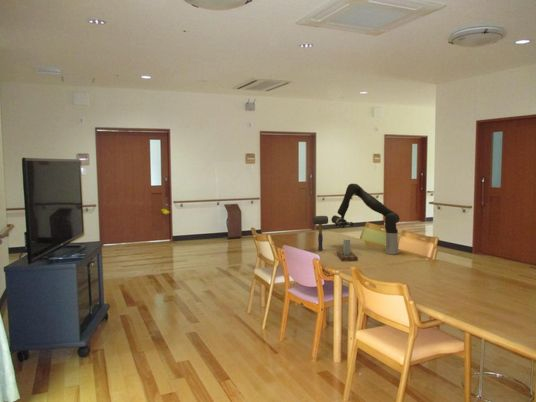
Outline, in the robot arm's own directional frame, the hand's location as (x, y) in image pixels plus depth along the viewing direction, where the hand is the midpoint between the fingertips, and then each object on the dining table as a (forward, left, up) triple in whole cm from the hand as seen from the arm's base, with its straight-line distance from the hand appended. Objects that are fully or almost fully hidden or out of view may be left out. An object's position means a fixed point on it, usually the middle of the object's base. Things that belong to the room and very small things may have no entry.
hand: (345, 225), depth 338 cm
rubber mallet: (+18, -18, -24) cm, 35 cm away
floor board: (+2, +11, -24) cm, 27 cm away
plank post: (+2, +11, -24) cm, 27 cm away
